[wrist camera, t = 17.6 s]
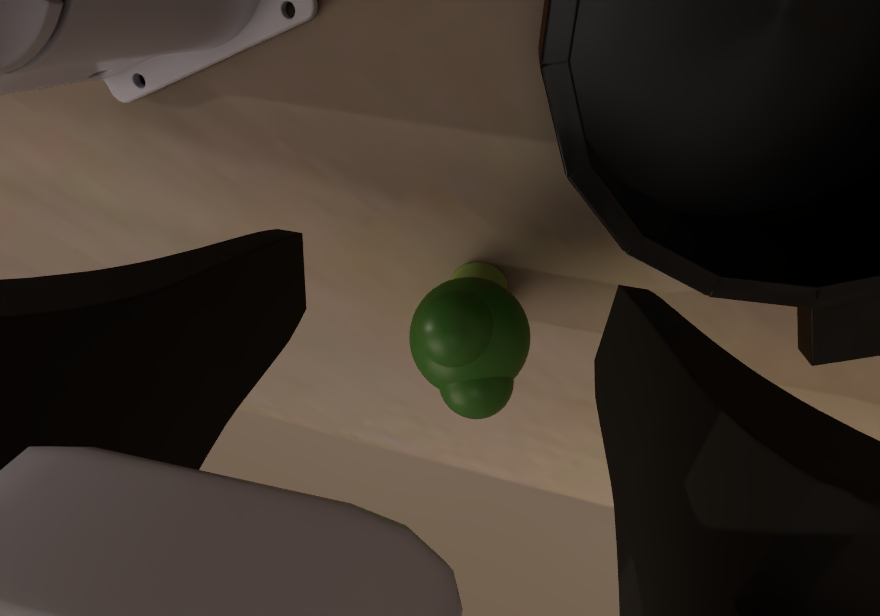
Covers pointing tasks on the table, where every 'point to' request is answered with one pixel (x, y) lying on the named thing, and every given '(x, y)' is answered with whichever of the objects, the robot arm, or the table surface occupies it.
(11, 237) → the table surface
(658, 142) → the pot
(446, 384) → the broccoli
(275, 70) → the table surface
